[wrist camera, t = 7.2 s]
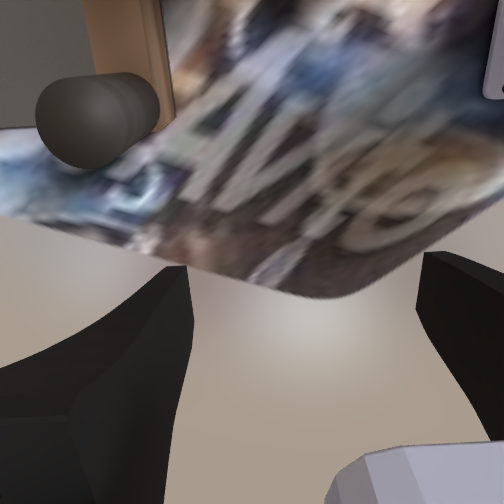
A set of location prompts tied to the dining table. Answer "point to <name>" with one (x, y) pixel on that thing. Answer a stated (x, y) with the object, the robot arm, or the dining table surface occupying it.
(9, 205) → the dining table surface
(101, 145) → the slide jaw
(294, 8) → the dining table surface
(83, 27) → the vice frame
